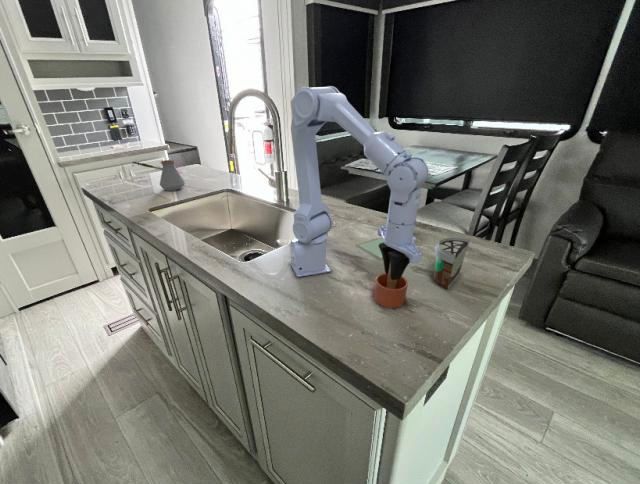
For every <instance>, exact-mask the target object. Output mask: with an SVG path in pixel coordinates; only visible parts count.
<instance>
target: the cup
mask: <svg viewBox="0 0 640 484" xmlns="http://www.w3.org/2000/svg"><path fill="white" fill-rule="evenodd" d="M387 279H388V274H386V273H385V272H384V273H381V274H378V276H376V278H375V283H374V291H373V300H374V302H375V303H376V304H377V305H379V306H380V307H384V308H387V309H388V308H389V309H396V308H400V307H402V306H403V305H405V302H406V296H407V291H408V286H409V282H408V279H406V278H405V277H404V276H403V275H402V276H401V278H400V279H397V285H396V289H389V288H386V285H387Z"/></svg>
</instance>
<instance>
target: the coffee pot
mask: <svg viewBox="0 0 640 484" xmlns="http://www.w3.org/2000/svg"><path fill="white" fill-rule="evenodd" d="M175 163H176V160H173V159H166V160H162V161H160V164H161V165H162V167H159V166H155V165H151V164H147V163H144V162H143V163H142V162H139V161H138V162H137V161H132V162H131V165H132V167H134V166H135V165H137V166H142V167H146V168H151V169H156V170H159V171H161V174H160V181H159V186H160V187H161V188H162V189H163V190H165V191H167V192H176V191H180V190H182V189H183V187H184V186H185V185H186V184H185V183H186V181H185V178H184V177H183V176H182V175H181V173H180V172H179V170H178V169H177V167H176V165H175Z"/></svg>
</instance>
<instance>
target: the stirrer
mask: <svg viewBox="0 0 640 484" xmlns="http://www.w3.org/2000/svg"><path fill="white" fill-rule="evenodd" d="M396 285H397V280H392V279H391V262H390V265H389V272H388V279H387V285H386V288H389V289H396Z"/></svg>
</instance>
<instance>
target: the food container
mask: <svg viewBox="0 0 640 484" xmlns="http://www.w3.org/2000/svg"><path fill="white" fill-rule="evenodd" d="M469 245H470V238H465V237H457V236H454V237H453V236H451V237H450V236H449V237H445V238H442V239H440V240H439V241H438V242H437V244H436V246H435V247H434V254H435V255H436V256H435V262H434V263H435V265H434V270H433V281H434V282H435V284H436V285H438V286H439V287H441V288H443V289H444V290H445V289H446V290H449V288H450V287H451V285H452V284H453V283H454V282H455V280H456V279H457V278H458V277H459V275H460V273H461V270H462V267H463V263H464V260H465V256H466V253H467V250H468V247H469Z"/></svg>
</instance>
